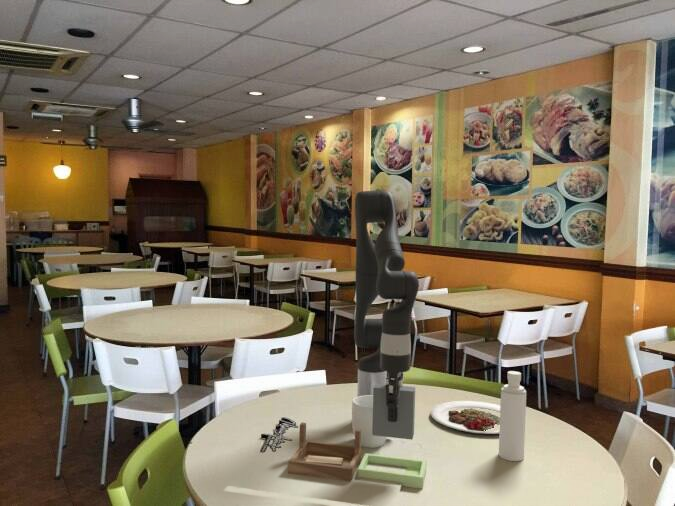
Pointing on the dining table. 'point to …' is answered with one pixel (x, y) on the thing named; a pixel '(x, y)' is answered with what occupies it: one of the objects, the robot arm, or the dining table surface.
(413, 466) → the holder
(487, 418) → the plated food
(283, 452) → the dining table surface
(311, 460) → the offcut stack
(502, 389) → the white bottle
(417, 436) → the dining table surface
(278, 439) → the nameplate
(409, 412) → the gray rectangular block
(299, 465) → the tray
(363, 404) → the mug
